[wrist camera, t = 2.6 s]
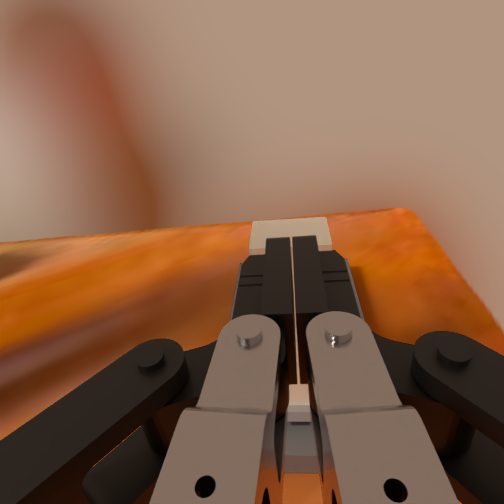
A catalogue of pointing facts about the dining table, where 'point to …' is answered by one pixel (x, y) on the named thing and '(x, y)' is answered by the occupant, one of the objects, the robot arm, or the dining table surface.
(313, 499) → the dining table surface
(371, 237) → the dining table surface
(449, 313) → the dining table surface
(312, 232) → the beige tall block
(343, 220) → the dining table surface
